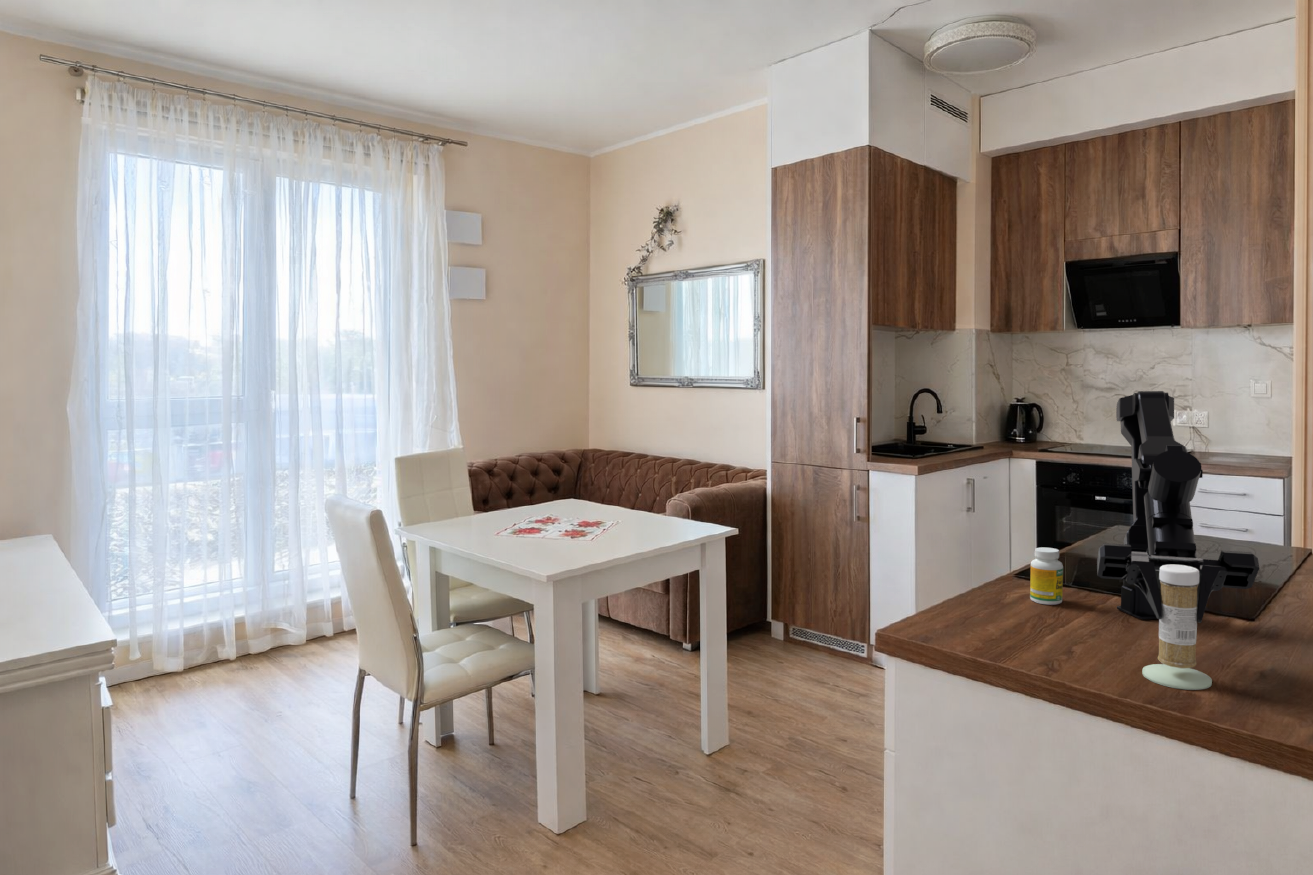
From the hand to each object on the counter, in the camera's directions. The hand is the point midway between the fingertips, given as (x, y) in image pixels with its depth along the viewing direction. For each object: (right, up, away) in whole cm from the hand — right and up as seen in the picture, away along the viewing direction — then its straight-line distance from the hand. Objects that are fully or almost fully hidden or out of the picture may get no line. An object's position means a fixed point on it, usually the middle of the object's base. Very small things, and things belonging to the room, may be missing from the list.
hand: (1179, 619), depth 109 cm
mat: (+1, -8, +2) cm, 9 cm away
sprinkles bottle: (+1, -7, +2) cm, 7 cm away
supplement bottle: (+1, -6, +39) cm, 39 cm away
